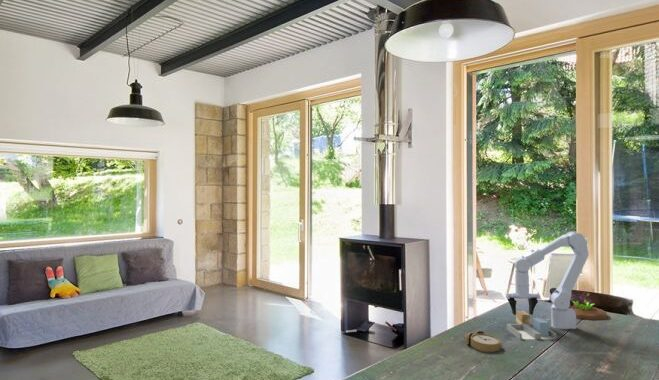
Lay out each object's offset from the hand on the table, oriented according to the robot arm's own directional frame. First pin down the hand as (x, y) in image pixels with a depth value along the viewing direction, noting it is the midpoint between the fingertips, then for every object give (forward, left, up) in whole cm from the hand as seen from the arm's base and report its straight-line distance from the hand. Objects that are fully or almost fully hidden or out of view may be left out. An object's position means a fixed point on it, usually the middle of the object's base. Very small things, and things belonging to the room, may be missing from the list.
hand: (522, 314), depth 198 cm
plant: (-38, -19, -6) cm, 43 cm away
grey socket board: (+2, +14, -5) cm, 15 cm away
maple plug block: (0, 0, -5) cm, 5 cm away
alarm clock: (+27, +26, -6) cm, 38 cm away
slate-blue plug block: (-2, +15, -5) cm, 15 cm away
